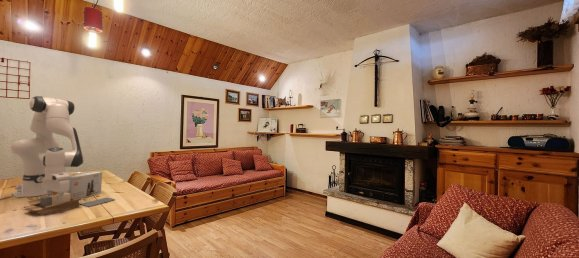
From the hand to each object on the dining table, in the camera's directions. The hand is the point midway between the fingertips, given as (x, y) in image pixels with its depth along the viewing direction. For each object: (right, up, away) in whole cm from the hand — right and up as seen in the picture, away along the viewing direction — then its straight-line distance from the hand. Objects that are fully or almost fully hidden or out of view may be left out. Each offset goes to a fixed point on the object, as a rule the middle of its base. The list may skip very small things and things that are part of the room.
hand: (55, 198), depth 146 cm
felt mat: (+15, -7, +14) cm, 21 cm away
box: (0, -6, +1) cm, 7 cm away
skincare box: (-3, -6, +24) cm, 25 cm away
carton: (0, -6, +1) cm, 6 cm away
